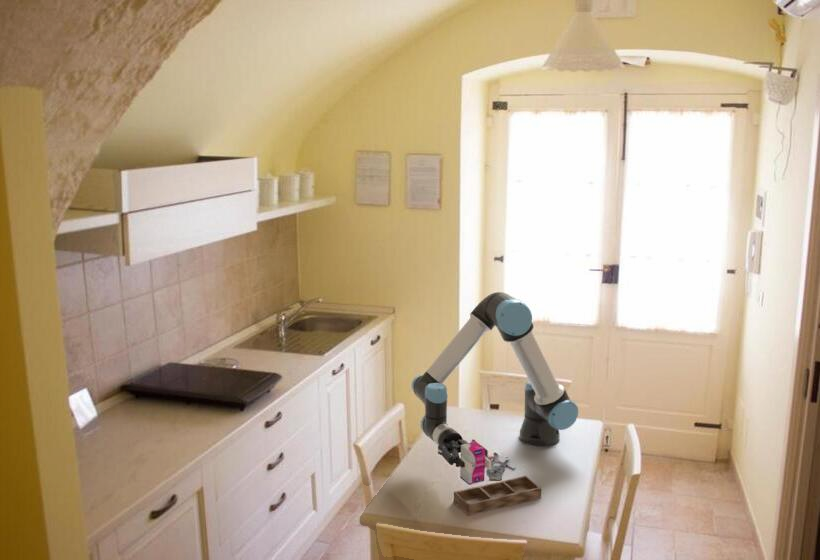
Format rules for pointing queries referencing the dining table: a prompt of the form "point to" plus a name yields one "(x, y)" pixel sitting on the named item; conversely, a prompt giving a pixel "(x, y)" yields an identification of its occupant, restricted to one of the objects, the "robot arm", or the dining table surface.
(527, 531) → the dining table surface
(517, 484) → the brown wooden compartment tray
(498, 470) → the grey irregular piece
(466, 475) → the supplement box
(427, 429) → the robot arm
